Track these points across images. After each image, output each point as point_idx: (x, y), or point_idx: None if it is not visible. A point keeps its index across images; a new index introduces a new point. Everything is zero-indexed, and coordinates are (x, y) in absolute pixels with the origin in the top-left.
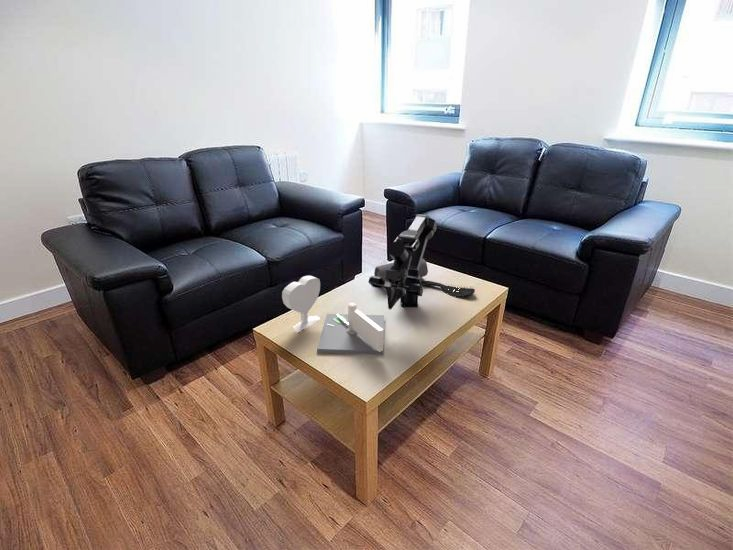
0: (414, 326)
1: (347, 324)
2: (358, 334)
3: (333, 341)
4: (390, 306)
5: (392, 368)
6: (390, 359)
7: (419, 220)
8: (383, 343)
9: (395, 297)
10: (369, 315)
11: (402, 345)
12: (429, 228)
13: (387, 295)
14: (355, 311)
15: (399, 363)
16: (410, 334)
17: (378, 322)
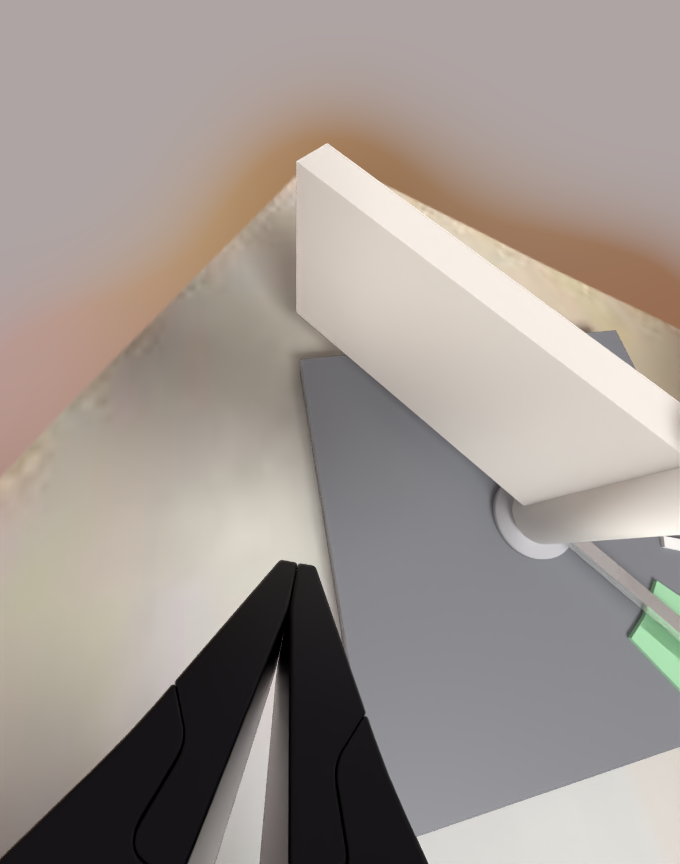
0: (89, 757)
1: (599, 550)
2: (483, 483)
3: None
4: (280, 579)
5: (241, 288)
6: (257, 342)
7: None
8: (310, 421)
9: (132, 754)
10: (505, 790)
11: (195, 468)
12: None
13: (397, 812)
14: (662, 397)
15: (209, 321)
16: (135, 612)
17: (399, 681)
